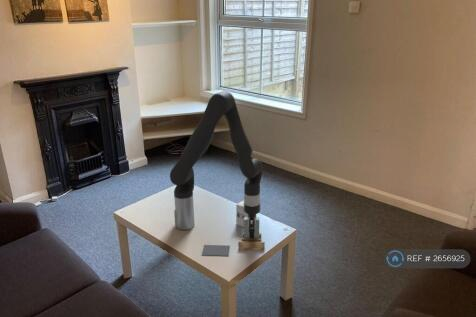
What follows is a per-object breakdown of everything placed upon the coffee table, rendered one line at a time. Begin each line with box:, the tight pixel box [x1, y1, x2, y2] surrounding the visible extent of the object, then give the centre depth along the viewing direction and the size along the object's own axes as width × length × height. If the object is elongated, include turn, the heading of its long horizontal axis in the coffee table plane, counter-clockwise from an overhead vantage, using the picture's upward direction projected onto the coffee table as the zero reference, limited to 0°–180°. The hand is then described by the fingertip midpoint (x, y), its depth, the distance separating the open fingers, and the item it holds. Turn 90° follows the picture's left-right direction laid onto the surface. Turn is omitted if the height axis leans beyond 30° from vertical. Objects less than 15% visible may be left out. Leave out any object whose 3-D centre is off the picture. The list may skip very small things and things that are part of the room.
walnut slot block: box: [241, 232, 262, 242], centre depth 180 cm, size 9×6×2 cm, turn 87°
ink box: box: [235, 199, 248, 228], centre depth 195 cm, size 9×5×12 cm, turn 143°
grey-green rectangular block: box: [243, 216, 260, 238], centre depth 179 cm, size 7×2×12 cm, turn 87°
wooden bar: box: [237, 240, 266, 251], centre depth 174 cm, size 12×2×4 cm, turn 87°
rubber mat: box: [201, 244, 231, 257], centre depth 173 cm, size 12×8×1 cm, turn 87°
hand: (252, 232), depth 179 cm, fingers open, 8 cm apart
